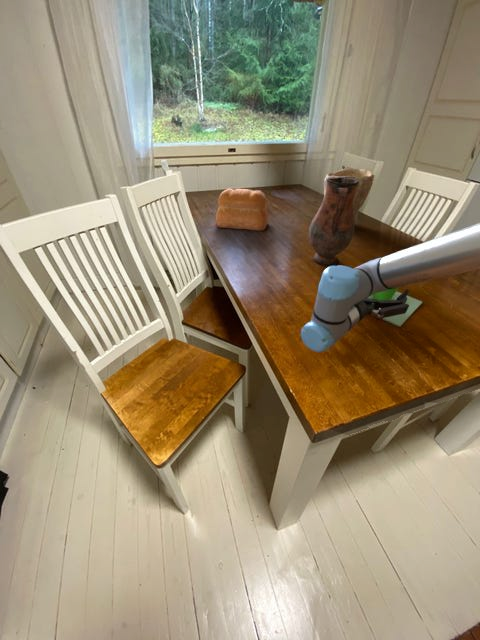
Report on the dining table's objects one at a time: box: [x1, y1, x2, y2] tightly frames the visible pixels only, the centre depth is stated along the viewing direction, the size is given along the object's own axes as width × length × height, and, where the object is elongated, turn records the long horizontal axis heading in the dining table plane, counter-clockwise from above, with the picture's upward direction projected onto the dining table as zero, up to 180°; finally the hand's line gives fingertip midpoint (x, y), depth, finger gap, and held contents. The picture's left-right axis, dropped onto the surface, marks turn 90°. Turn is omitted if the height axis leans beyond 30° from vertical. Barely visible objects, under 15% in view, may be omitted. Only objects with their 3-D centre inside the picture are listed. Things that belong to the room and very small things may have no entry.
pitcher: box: [308, 177, 359, 266], centre depth 101 cm, size 17×21×30 cm
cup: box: [373, 287, 400, 300], centre depth 85 cm, size 9×9×11 cm
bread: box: [215, 188, 269, 232], centre depth 137 cm, size 16×26×17 cm, turn 78°
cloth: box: [367, 290, 423, 328], centre depth 89 cm, size 20×18×1 cm
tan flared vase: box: [323, 167, 375, 218], centre depth 138 cm, size 22×22×25 cm
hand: (383, 284), depth 82 cm, fingers open, 13 cm apart
